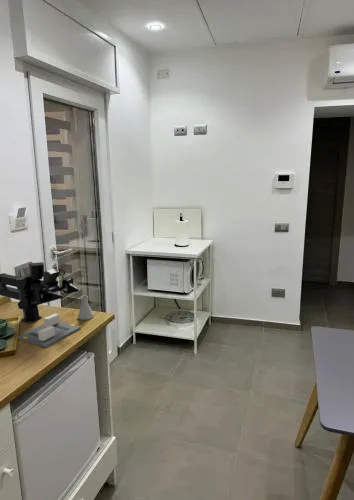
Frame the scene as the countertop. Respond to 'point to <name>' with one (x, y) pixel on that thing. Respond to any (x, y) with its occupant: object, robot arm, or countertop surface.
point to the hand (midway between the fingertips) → (70, 293)
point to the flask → (85, 309)
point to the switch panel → (60, 333)
